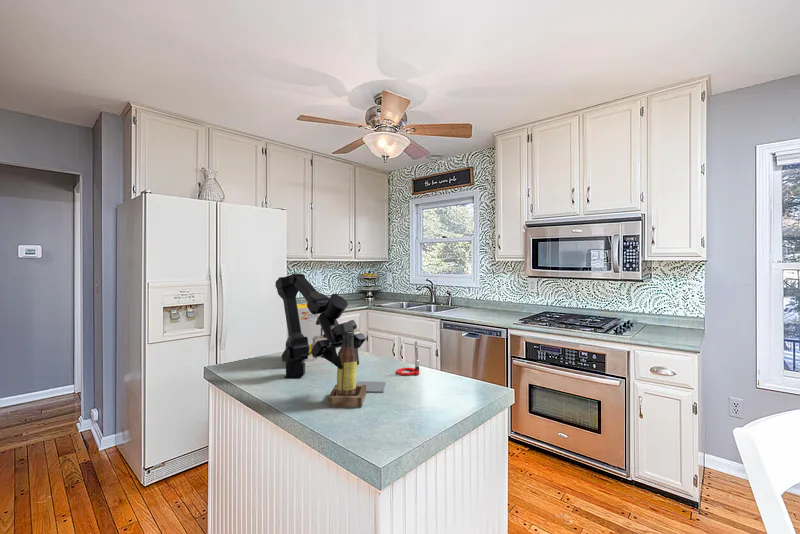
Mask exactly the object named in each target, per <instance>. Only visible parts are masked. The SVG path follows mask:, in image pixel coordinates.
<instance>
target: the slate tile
mask: <svg viewBox="0 0 800 534" xmlns="http://www.w3.org/2000/svg"><path fill="white" fill-rule="evenodd" d="M386 384H387V383H386V381H366V380H365V381H364V380H363V381H360V380H359V381H358V382H357V383H356V385H366V394H367V393H369V394H370V393H374V394H375V393H379V394H382V393H383V394H384V393H385V392H384V391H385V388H386Z"/></svg>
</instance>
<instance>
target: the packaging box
mask: <svg viewBox="0 0 800 534" xmlns="http://www.w3.org/2000/svg"><path fill="white" fill-rule="evenodd" d="M297 308H298V315H299V321H300V327H301V333H302V334H303V336H304V337H307V338H308V344H309V354H308V359H305V360H304V363H305V368H306V366H307V367H313V365H314V366H320V365H319V364H321V365H328V364H327V363H329V364H332V363H331V362H330V361H328V360H326V359H325V358H321V356H322V355H321V356H319V357H315V358H314V357H313V356H312V353H311V350H312V348H313V346H314V345H315V343H316V342H317V341H320V340H325V339H327V338H324V337H323V335H324V332H323V330H322V328H321V326H320V325H316V321H317V317H319V316H320V314H312V313H311V312H310V311H309V309H308V307H307V303H297ZM288 336H289V335H287V337H288Z"/></svg>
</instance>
